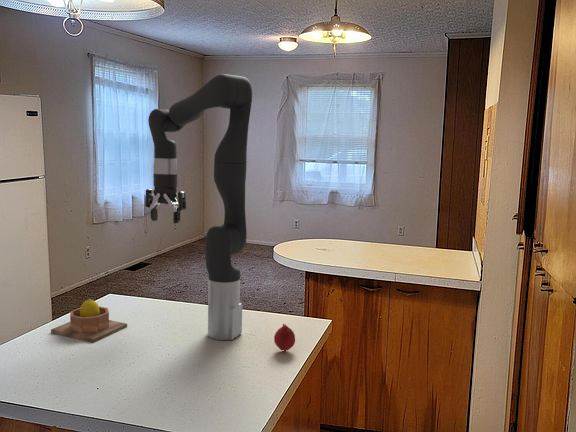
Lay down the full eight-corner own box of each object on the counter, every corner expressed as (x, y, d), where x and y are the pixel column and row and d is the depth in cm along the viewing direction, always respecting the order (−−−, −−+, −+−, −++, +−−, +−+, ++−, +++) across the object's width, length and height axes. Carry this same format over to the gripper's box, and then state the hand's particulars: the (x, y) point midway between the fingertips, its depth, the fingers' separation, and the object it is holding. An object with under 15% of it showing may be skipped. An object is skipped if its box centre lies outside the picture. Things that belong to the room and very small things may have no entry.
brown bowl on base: (127, 326, 160) (127, 309, 159) (93, 342, 147) (93, 323, 146) (86, 318, 166) (86, 301, 165) (51, 332, 153) (50, 314, 152)
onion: (294, 347, 148) (295, 320, 147) (295, 355, 143) (296, 327, 142) (273, 347, 148) (274, 320, 147) (273, 355, 142) (274, 327, 141)
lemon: (79, 329, 153) (78, 302, 152) (80, 322, 158) (80, 297, 157) (99, 327, 155) (99, 301, 154) (100, 321, 160) (99, 296, 159)
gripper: (139, 171, 168) (140, 221, 171) (177, 174, 163) (177, 225, 165) (154, 170, 175) (154, 218, 178) (190, 173, 170) (190, 222, 172)
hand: (165, 221), depth 171 cm, fingers open, 8 cm apart
